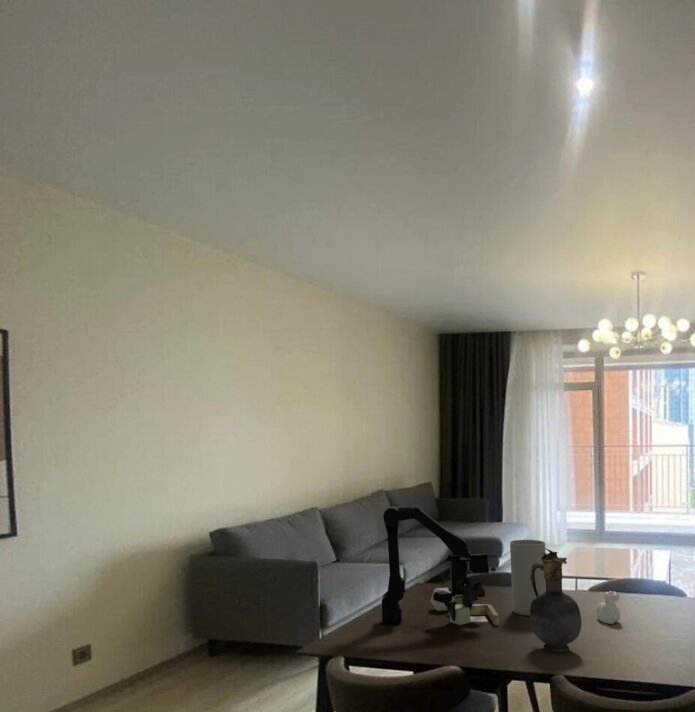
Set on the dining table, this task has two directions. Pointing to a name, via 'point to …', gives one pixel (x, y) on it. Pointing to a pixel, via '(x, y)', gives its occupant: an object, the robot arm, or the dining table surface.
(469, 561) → the robot arm
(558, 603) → the pitcher
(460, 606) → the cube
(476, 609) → the wooden corner guide
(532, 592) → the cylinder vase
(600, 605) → the white figurine
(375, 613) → the dining table surface
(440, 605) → the die
